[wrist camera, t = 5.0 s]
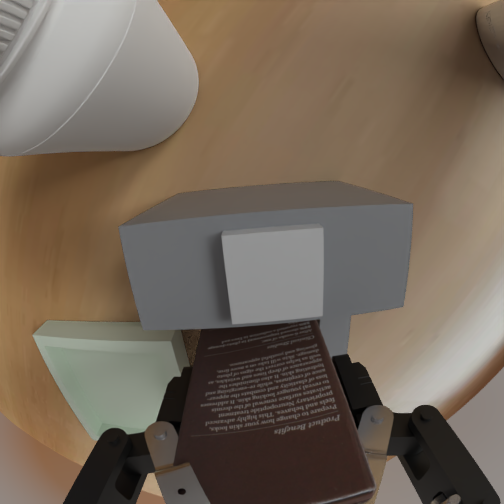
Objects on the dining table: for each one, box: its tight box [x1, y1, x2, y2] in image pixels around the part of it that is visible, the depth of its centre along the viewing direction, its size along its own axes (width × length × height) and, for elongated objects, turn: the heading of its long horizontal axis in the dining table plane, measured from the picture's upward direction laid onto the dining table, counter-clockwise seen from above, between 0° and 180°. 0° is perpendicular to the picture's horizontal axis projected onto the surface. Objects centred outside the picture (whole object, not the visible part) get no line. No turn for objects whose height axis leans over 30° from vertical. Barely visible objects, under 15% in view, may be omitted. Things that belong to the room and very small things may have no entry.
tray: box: [33, 320, 190, 441], centre depth 21 cm, size 13×14×3 cm
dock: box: [119, 181, 413, 359], centre depth 15 cm, size 10×13×10 cm
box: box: [173, 320, 377, 504], centre depth 11 cm, size 6×4×12 cm
